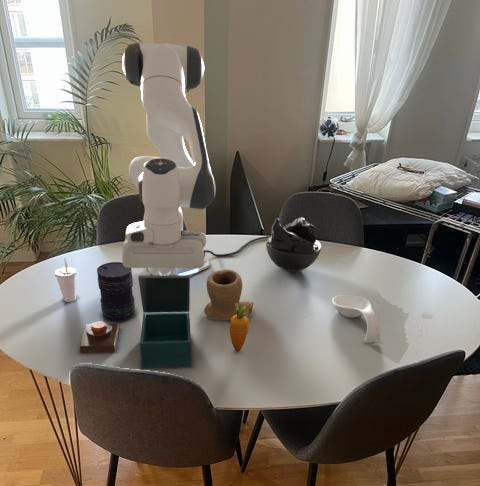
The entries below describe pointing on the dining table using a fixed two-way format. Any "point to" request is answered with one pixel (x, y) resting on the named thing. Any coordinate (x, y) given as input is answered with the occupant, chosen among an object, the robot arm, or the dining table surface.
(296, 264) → the coal bowl
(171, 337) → the tea tin
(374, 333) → the spoon rest
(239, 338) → the carrot
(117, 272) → the oil barrel
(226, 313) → the stone cup
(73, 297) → the smoothie
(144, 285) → the lid
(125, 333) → the dining table surface
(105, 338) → the button block
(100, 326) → the button
